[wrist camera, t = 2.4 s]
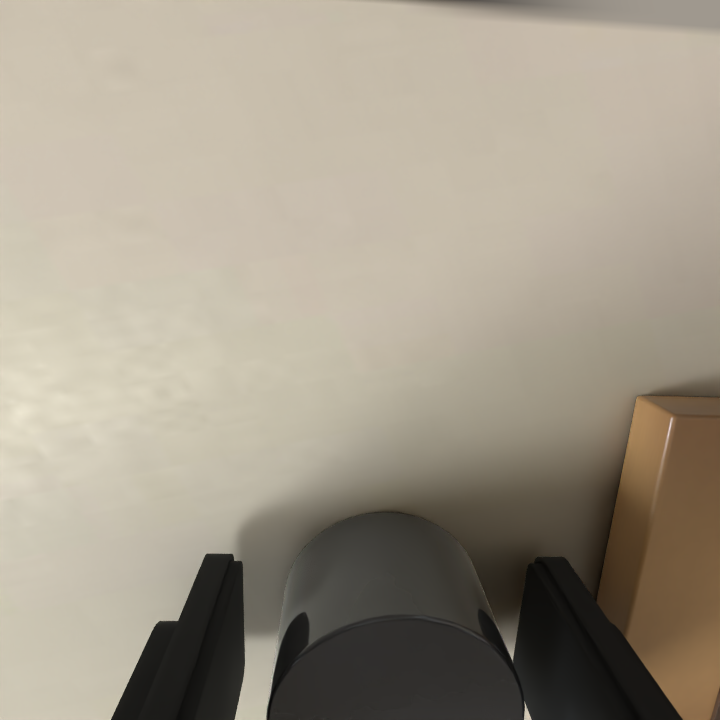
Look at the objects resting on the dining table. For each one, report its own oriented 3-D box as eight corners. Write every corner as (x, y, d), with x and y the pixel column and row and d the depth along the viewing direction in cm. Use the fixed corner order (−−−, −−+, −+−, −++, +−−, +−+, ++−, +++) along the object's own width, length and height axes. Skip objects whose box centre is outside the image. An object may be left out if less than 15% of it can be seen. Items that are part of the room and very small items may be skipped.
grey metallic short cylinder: (284, 509, 10) (264, 616, 8) (487, 511, 11) (542, 616, 8) (284, 673, 12) (265, 822, 9) (467, 673, 12) (509, 818, 9)
